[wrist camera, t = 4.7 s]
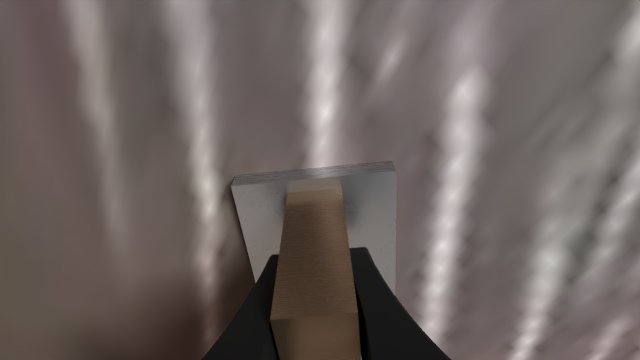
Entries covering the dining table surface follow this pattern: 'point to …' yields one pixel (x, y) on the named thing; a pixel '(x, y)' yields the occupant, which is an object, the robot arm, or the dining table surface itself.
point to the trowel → (318, 249)
